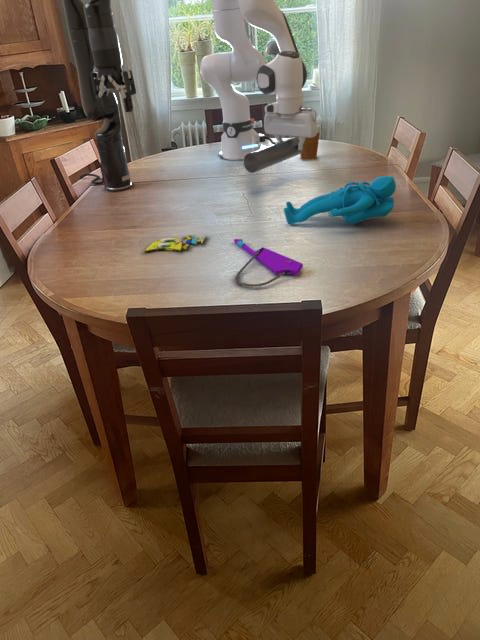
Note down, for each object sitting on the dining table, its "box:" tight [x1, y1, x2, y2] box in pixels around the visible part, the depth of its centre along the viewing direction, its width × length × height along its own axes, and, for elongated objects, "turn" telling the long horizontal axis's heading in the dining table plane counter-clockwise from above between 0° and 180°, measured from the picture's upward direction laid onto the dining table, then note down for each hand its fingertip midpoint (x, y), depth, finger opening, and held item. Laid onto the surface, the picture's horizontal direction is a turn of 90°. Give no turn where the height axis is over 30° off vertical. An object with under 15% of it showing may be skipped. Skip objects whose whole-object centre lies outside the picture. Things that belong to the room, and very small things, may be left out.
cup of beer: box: [299, 123, 322, 161], centre depth 190 cm, size 10×10×12 cm
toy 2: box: [283, 175, 397, 226], centre depth 132 cm, size 17×11×30 cm
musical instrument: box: [233, 238, 304, 287], centre depth 115 cm, size 24×2×20 cm
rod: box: [243, 136, 304, 174], centre depth 163 cm, size 26×6×6 cm, turn 140°
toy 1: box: [144, 234, 207, 254], centre depth 130 cm, size 10×1×15 cm
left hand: (118, 111), depth 137 cm, fingers open, 8 cm apart
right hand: (290, 148), depth 169 cm, fingers closed on rod, 6 cm apart
